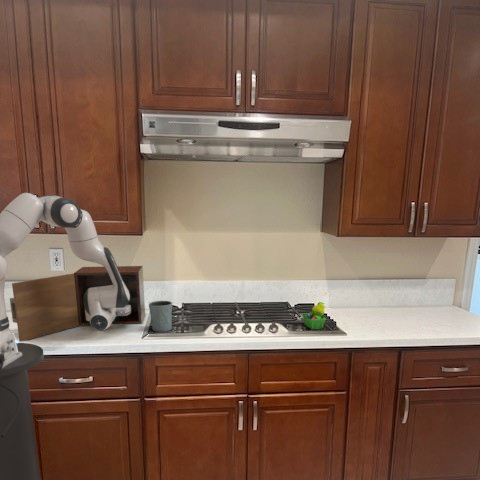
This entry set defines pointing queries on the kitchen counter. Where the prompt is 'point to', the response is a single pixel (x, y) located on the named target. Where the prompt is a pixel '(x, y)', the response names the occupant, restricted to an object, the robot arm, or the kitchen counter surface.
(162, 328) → the grey mug
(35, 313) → the cupboard door
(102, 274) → the cupboard
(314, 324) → the fruit basket
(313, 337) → the kitchen counter surface
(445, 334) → the kitchen counter surface
